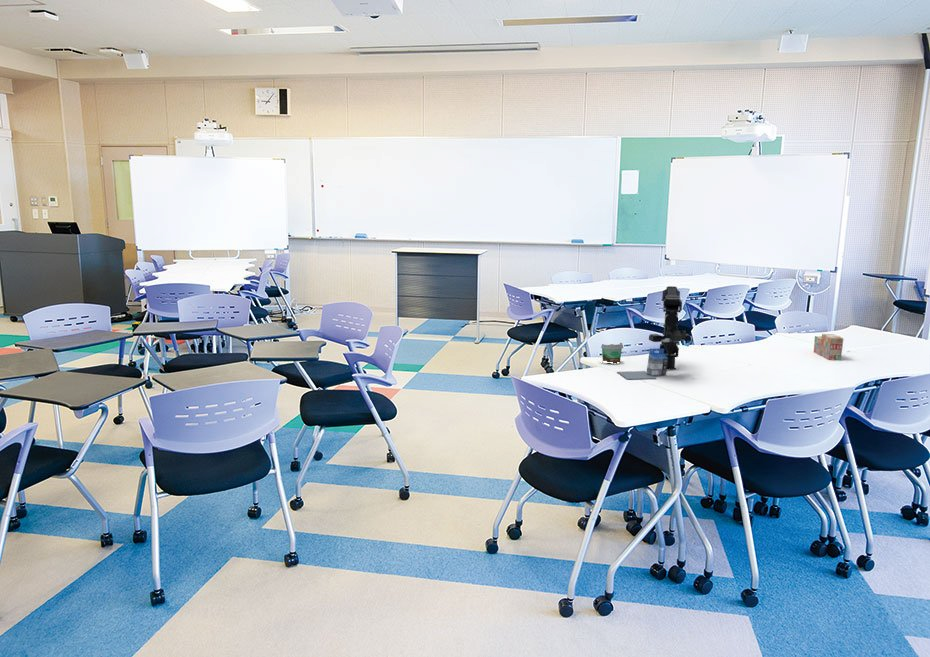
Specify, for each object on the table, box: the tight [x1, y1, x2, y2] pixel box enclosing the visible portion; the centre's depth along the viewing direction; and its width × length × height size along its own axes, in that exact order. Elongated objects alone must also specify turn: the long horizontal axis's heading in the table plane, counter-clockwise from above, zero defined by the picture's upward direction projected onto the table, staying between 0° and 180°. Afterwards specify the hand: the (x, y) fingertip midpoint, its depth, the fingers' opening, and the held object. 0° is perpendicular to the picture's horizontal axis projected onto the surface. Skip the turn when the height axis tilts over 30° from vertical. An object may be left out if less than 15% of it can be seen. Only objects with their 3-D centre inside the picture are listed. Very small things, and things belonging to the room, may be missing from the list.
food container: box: [600, 342, 624, 363], centre depth 331 cm, size 12×6×10 cm, turn 112°
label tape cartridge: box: [646, 348, 668, 377], centre depth 305 cm, size 9×4×12 cm, turn 112°
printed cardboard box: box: [813, 333, 844, 362], centre depth 350 cm, size 21×6×12 cm, turn 172°
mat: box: [616, 370, 657, 381], centre depth 305 cm, size 14×14×1 cm
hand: (668, 355), depth 305 cm, fingers closed
